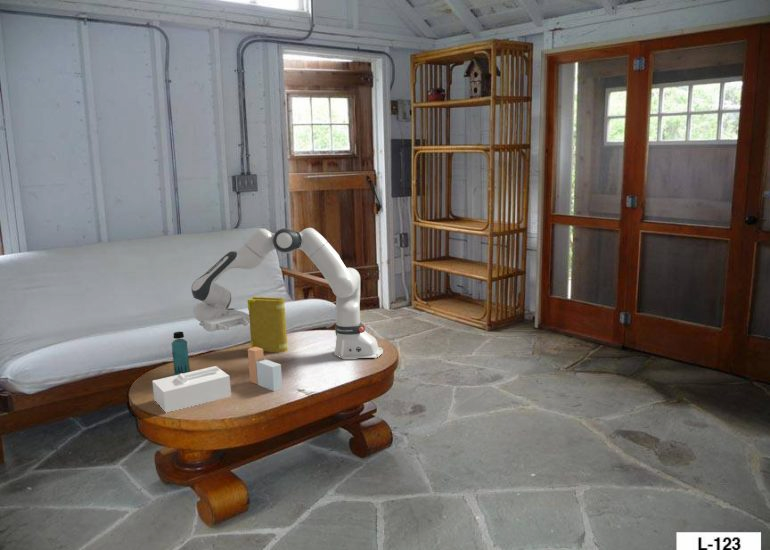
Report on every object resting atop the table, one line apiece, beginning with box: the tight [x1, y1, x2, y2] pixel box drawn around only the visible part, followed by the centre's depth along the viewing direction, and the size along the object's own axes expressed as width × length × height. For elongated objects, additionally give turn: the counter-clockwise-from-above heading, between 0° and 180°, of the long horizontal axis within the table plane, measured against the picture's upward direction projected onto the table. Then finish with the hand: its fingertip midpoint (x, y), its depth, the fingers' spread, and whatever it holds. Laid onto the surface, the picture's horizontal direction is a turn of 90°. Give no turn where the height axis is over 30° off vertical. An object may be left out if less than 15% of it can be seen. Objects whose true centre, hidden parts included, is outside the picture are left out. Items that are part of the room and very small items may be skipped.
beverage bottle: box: [171, 331, 191, 376], centre depth 257 cm, size 6×7×20 cm
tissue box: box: [152, 365, 232, 414], centre depth 236 cm, size 14×25×11 cm, turn 126°
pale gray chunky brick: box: [256, 358, 283, 392], centre depth 245 cm, size 11×4×10 cm, turn 47°
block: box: [247, 347, 265, 385], centre depth 251 cm, size 5×4×14 cm
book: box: [247, 296, 289, 353], centre depth 290 cm, size 17×7×25 cm, turn 73°
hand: (236, 325), depth 257 cm, fingers open, 8 cm apart
